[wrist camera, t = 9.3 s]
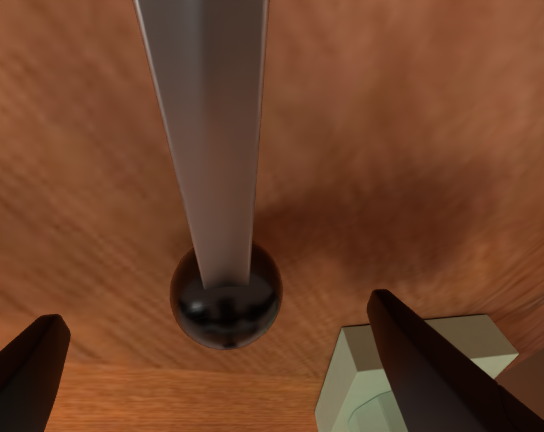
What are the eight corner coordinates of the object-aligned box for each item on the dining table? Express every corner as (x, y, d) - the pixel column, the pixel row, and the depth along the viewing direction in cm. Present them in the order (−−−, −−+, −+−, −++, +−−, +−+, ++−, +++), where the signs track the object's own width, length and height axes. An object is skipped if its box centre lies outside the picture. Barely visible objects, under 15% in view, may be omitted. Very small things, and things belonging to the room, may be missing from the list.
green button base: (421, 398, 22) (455, 467, 19) (314, 412, 21) (330, 488, 18) (487, 314, 16) (553, 394, 13) (341, 327, 15) (373, 419, 12)
